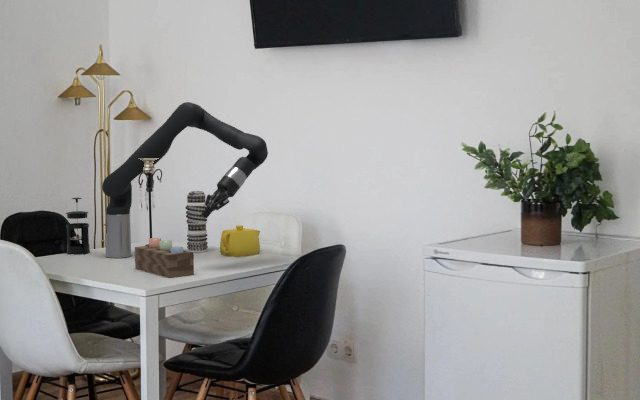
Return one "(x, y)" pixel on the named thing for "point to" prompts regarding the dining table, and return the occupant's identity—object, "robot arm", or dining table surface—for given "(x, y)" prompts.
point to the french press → (73, 247)
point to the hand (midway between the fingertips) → (203, 216)
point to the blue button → (176, 249)
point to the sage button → (165, 245)
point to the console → (164, 262)
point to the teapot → (239, 242)
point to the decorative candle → (196, 222)
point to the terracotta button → (154, 242)
